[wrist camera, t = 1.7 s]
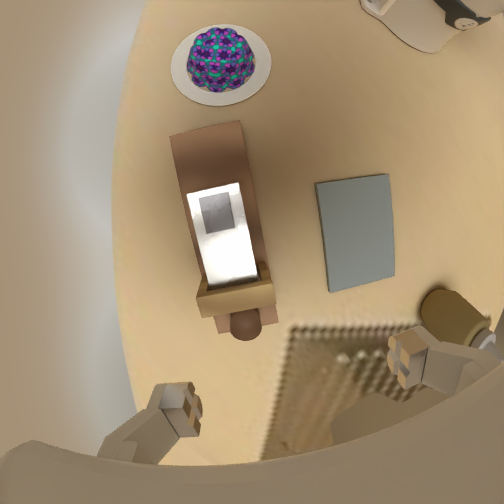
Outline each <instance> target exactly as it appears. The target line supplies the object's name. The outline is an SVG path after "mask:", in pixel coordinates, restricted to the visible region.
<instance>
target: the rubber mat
mask: <svg viewBox="0 0 504 504" xmlns="http://www.w3.org/2000/svg"><path fill="white" fill-rule="evenodd" d="M315 189H316V195H317V201H318V208H319V215H320V222H321V229H322V237H323V245H324V254H325V263H326V273H327V283H328V291H329V292H330V293H332V292H336V291H340V290H344V289H348V288H352V287H356V286H360V285H363V284H367V283H371V282H374V281H378V280H382V279H385V278H389V277H392V276H395V255H394V228H393V212H392V201H391V191H390V182H389V174H383V175H374V176H366V177H359V178H351V179H344V180H337V181H331V182H324V183H318V184H315Z"/></svg>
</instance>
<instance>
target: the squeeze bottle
mask: <svg viewBox="0 0 504 504" xmlns="http://www.w3.org/2000/svg"><path fill="white" fill-rule="evenodd" d="M421 317H422V319H423V321H424V324H425V326H426V328H427V330H428V332H429V333H430V334H432V335H433V336H434V337H435V338H436V339H437V340H438V341H439V342H442V341H444V342H449V343H454V344H458V345H463V346H468V347H473V348H478V349H483V350H487V351H488V352H490V353H491V354H492V355H493V356H494V357H495V358H497V359H498V360H499V361H500V362H501V363H502V362H503V361H504V358H503V357H502V355H501V354H500V352H499V351H498V349H497V348H496V346H495V345H494V344H495V340H496V335H495V334H494V333H493V332H492V331H490V330H489V322H488V320H487V319H486V318H485V317H484V316H483V315H482V314H481V313H480V312H479V311H478V310H476V309H475V308H474V307H473V306H472V305H471V304H470V303H469V302H468V301H467V300H466V299H464V298H463V297H462V296H461V295H460V294H459V293H457V292H456V291H450V290H442V289H438V290H434V291H433V292H431V293H430V294H429V295H428V296H427V297H426V299H425V300H424V302H423V304H422V307H421Z"/></svg>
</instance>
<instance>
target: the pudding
mask: <svg viewBox="0 0 504 504" xmlns="http://www.w3.org/2000/svg"><path fill="white" fill-rule="evenodd" d="M252 51H253V52H252ZM253 53H254V55H253ZM188 56H189V57H188ZM254 56H255V60H256V65H255V70H254V64H253V62H252V59H253V57H254ZM187 59H188V62H187ZM186 62H187V70H188V72H190V73H191V74H193V75H192V81H193V82H194V84H195V85H194V84H193V82H192V81H191V80H190V78H189V77H188V74H187V71H186ZM270 70H271V55H270V51H269V49H268V47H267V45H266V44H265V42H264V41H263V40H262V39H261V38H260V37H259V36H258V35H257V34H255V33H254V32H252V31H251V30H248V29H246V28H244V27H241V26H237V25H231V24H218V25H211V26H208V27H204V28H202V29H199V30H197V31H195V32H193V33H192V34H190V35H189V36H188V37H186V38H185V39H184V40H183V41H182V42H181V43H180V45H179V46H178V47H177V49H176V51H175V52H174V55H173V58H172V61H171V75H172V79H173V82H174V83H175V85H176V87H177V88H178V89H179V91H180V92H181V93H182V94H183V95H185V96H186V97H187V98H189V99H191V100H193V101H195V102H198V103H201V104H204V105H211V106H224V105H231V104H235V103H238V102H241V101H243V100H245V99H247V98H249V97H251V96H252V95H253V94H255V93H256V92H257V91H258V90H259V89H260V88H261V87H262V86H263V85H264V83H265V82H266V81H267V79H268V76H269V74H270ZM252 73H253V75H252ZM251 75H252V76H251ZM248 76H251V78H250V79H249V80H248V81H247V82H246V83H245V84H244V80H245V78H246V77H248ZM242 84H244V85H242ZM196 85H197V86H199V87H204V86H206V87H207V88H208V89H209V90H210V91H212V92H208V91H205V90H203V89H200V88H199V87H197V86H196ZM241 85H242V86H241ZM240 86H241V87H240ZM238 87H239V88H238ZM226 88H231V89H235V88H237V89H235V90H232V91H229V92H223V93H214V92H222V91H223V90H225V89H226Z"/></svg>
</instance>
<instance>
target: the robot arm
mask: <svg viewBox="0 0 504 504" xmlns="http://www.w3.org/2000/svg"><path fill="white" fill-rule="evenodd" d="M360 2H361V6H362V8H363V9H364V10H365V11H366V12H367V13H369V14H371V15H372V16H374V17H376V18H377V19H379V20H381V21H382V22H383V23H384V24H385V25H386V26H387V27H388V28H389V29H390V30H391V31H392V32H393V33H394V34H395V35H397V36H398V37H399V38H400V39H401V40H403V41H404V42H406V43H407V44H409V45H410V46H412V47H414V48H416V49H418V50H420V51H423V52H427V53H436V52H439V51H440V50H441V49H442V48H443V46H444V45H445V44H446V43H447V42H448V41H449V40H450V39H451V38H452V37H454V36H455V35H456V34H458V33H459V32H461V31H464V30H468V29H471V28H474V27H476V26H478V25H480V24H483V23H485V22H487V21H489V20H490V19H491V16H494V15H496V14H499V13H502V12H504V0H360ZM388 346H389V347H390V348H391V349H390V351H389V352H388V356H387V360H388V365H389V368H390V370H391V371H392V373H393V374H396V375H398V379H397V380H398V381H399V383H400V384H401V385H402V387H403V388H404V389H406V388H409V387H411V386H414V385H416V384H418V383H422V384H425V385H427V386H429V387H431V388H433V389H436V390H438V391H440V392H442V393H445V394H447V395H449V396H452V397H450V398H448V399H447V400H445V401H443V402H441V403H439V404H438V405H436V406H434V407H432V408H430V409H428V410H426V411H424V412H422V413H420V414H418V415H416V416H414V417H412V418H409V419H407V420H405V421H403V422H400V423H398V424H396V425H393V426H391V427H389V428H386V429H383V430H381V431H378V432H376V433H373V434H370V435H367V436H364V437H361V438H358V439H355V440H352V441H349V442H346V443H343V444H339V445H336V446H332V447H329V448H325V449H321V450H317V451H313V452H309V453H304V454H299V455H295V456H289V457H284V458H278V459H272V460H265V461H258V462H250V463H240V464H228V465H209V466H173V465H157V464H158V463H159V462H160V461H161V459H162V458H163V457H164V456H165V455H166V454H167V453H168V452H169V450H170V449H171V448H172V447H173V446H174V445H175V443H176V442H177V441H178V440H179V439H180V438H181V437H198V436H199V433H200V427H201V424H200V422H199V419H200V418H201V417H202V412H203V411H202V403H201V400H200V398H199V396H198V395H196V394H195V393H194V392H195V387H194V385H193V383H192V382H178V383H163V384H157V385H155V387H154V390H153V392H152V395H151V397H150V400H149V403H148V405H147V408H146V409H143V410H141V411H140V412H139V413H137V414H136V415H135V416H133V417H132V418H131V419H130V420H128V421H127V422H126V423H124V424H123V425H121V426H120V427H119V428H117V429H116V430H115V431H114V432H112V433H111V434H109V435H108V436H106V437H105V439H104V441H103V444H102V445H101V448H100V450H99V452H98V454H97V457H95V456H90V455H86V454H81V453H77V452H73V451H69V450H66V449H62V448H58V447H55V446H52V445H48V444H46V443H43V442H40V441H36V440H31V441H28V442H25V443H23V444H21V445H19V446H17V447H15V448H13V449H11V450H9V451H8V452H6V453H5V454H4V455H3V456H2V457H1V458H0V504H504V362H502V363H501V362H500V361H499V360H498V359H497V358H495V357H494V356H493V355H492V354H491V353H490V352H488V351H487V350H483V349H478V348H473V347H468V346H463V345H458V344H454V343H449V342H444V341H442V342H439V341H438V340H437V339H436V338H435V337H434V336H433V335H432V334H430V333H429V332H428V331H427V330H426V329H425V328H424V327H423V326H421V325H418V326H416V327H413V328H411V329H409V330H407V331H404V332H402V333H399V334H396V335H394V336H391V337H389V340H388Z"/></svg>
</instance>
